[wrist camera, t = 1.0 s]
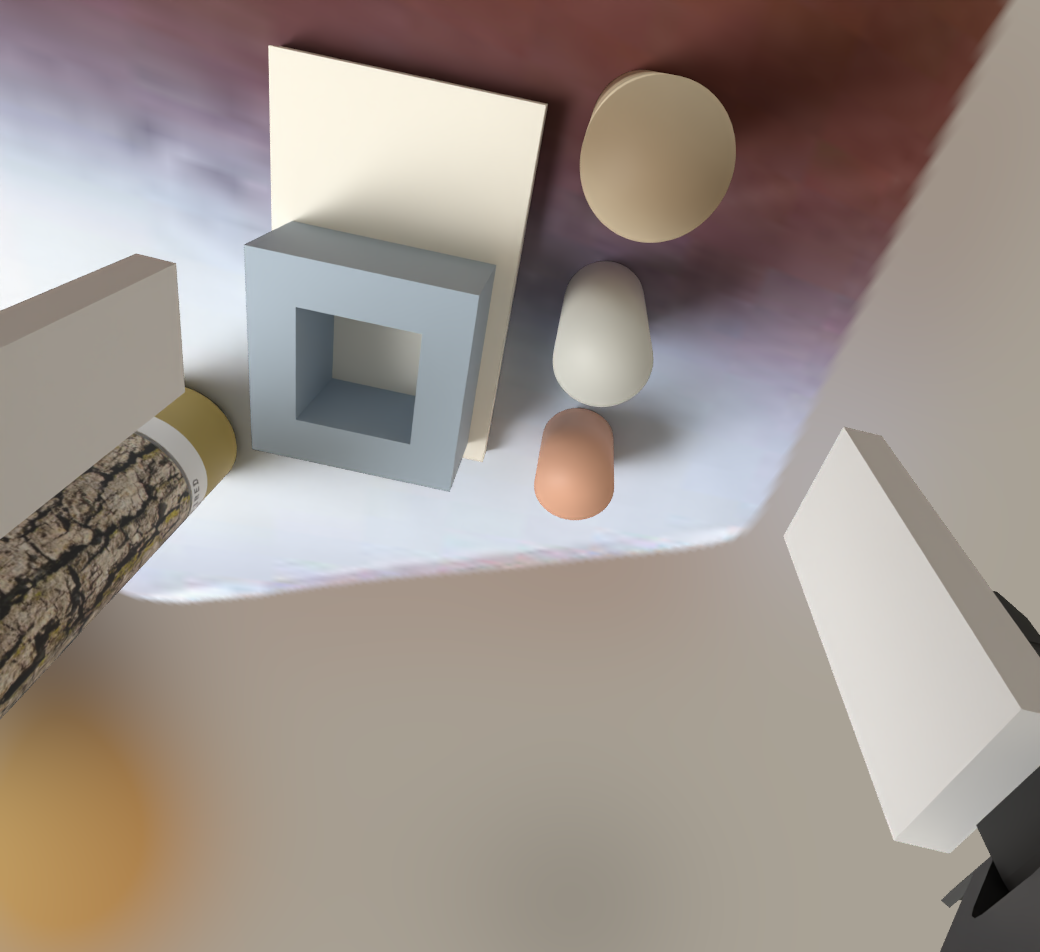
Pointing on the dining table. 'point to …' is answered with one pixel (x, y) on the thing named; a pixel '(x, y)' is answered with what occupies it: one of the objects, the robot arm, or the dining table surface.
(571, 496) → the short dowel
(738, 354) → the dining table surface
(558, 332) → the medium dowel
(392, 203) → the socket board
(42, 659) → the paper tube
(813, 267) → the dining table surface
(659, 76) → the long dowel
